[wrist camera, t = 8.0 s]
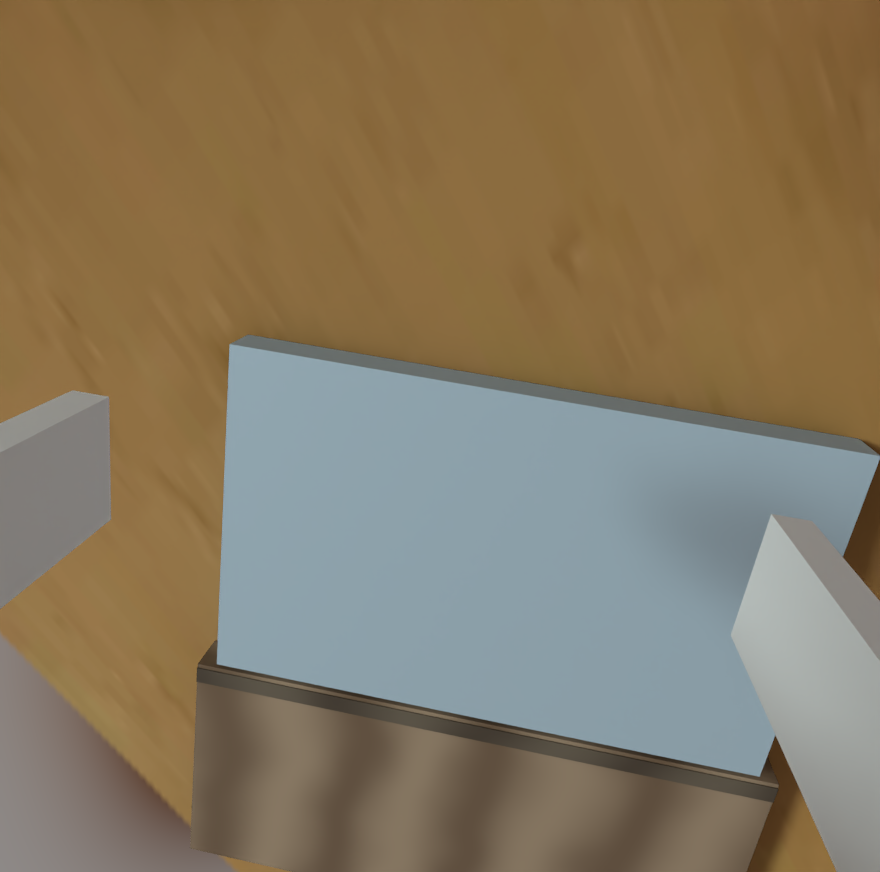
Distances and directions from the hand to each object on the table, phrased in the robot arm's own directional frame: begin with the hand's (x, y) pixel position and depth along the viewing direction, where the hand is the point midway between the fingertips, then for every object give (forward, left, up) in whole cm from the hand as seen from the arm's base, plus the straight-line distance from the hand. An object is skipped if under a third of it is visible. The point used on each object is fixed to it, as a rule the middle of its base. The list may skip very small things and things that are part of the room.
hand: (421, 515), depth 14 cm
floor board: (+3, -23, -18) cm, 29 cm away
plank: (+3, -17, -15) cm, 23 cm away
